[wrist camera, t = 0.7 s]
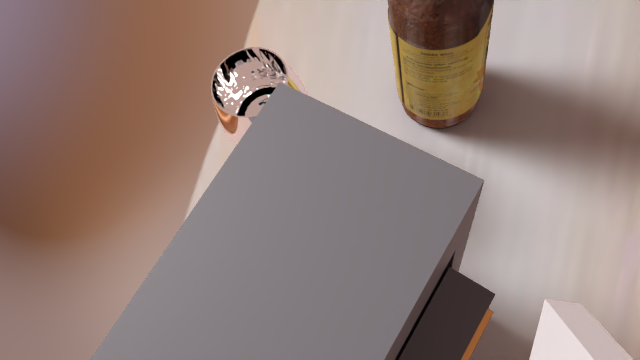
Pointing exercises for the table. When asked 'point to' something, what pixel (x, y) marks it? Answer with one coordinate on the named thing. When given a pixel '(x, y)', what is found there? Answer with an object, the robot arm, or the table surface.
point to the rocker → (449, 320)
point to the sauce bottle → (439, 56)
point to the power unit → (303, 246)
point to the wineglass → (248, 87)
